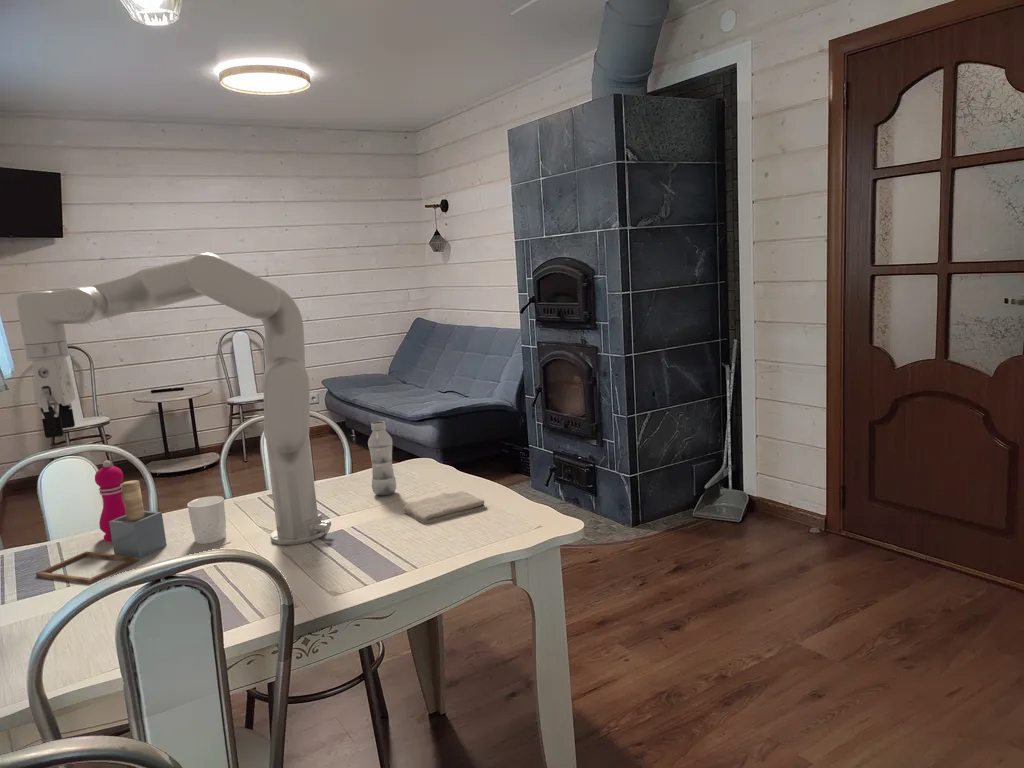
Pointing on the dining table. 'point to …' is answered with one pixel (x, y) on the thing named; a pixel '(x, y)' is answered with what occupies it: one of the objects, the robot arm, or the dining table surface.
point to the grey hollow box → (138, 535)
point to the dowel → (133, 501)
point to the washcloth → (443, 506)
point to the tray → (47, 574)
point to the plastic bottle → (381, 460)
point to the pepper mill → (110, 496)
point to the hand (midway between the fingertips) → (60, 432)
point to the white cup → (207, 519)
